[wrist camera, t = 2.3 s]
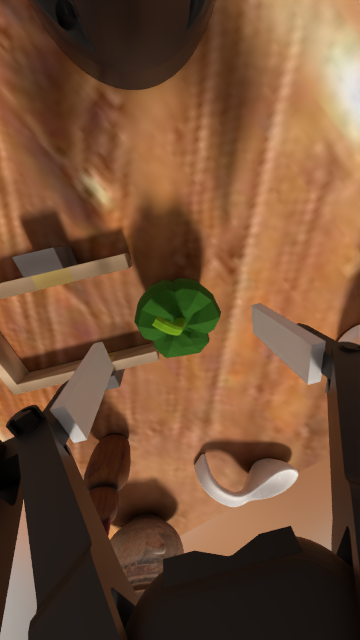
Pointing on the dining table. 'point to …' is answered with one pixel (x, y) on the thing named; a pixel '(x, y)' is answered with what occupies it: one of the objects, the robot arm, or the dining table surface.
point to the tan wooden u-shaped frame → (49, 272)
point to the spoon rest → (249, 481)
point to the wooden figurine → (108, 476)
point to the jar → (352, 335)
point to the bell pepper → (177, 316)
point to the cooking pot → (145, 549)
